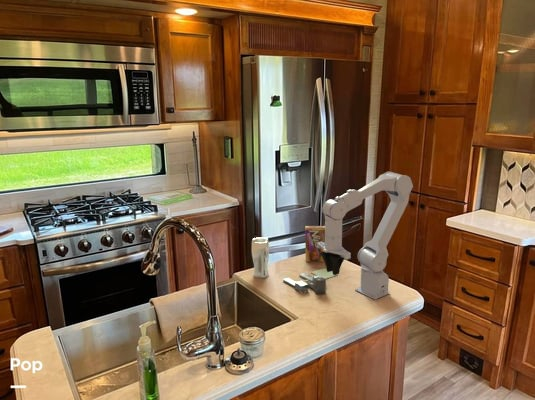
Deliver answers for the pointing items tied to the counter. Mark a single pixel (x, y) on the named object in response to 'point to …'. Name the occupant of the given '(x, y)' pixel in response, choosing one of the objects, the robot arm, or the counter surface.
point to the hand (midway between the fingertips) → (332, 272)
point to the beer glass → (260, 257)
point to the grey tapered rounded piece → (318, 285)
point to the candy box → (314, 243)
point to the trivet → (323, 273)
